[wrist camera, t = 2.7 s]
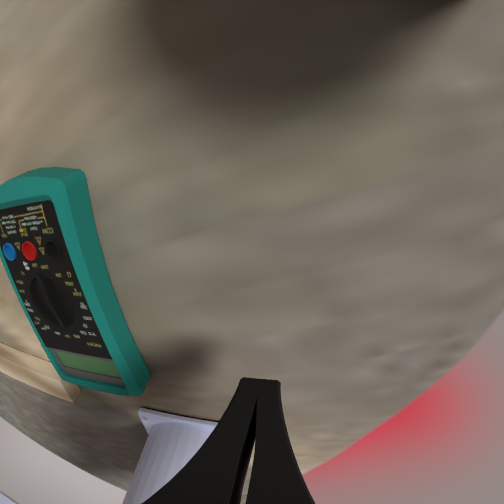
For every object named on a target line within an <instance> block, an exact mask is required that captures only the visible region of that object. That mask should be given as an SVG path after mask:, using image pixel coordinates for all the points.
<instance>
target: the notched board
mask: <svg viewBox="0 0 504 504" xmlns="http://www.w3.org/2000/svg"><path fill="white" fill-rule="evenodd" d="M0 371H1V372H3V373H5V374H7V375H9V376H11V377H13V378H15V379H17V380H19V381H21V382H24V383H26V384H28V385H30V386H32V387H35V388H37V389H39V390H42V391H44V392H46V393H49V394H51V395H54V396H56V397H59V398H61V399H64V400H67V401H69V402H72V403H74V402H75V400H76V399H77V397H78V395H79V394H80V392H81V390H80V388H79V387H78V385H75V384H72V383H69V382H66V381H64V380H63V379H61V377H60V376H59V375H58V373H57V371H56V370H55V368H54V366H53V365H52V363H51V362H48V361H45V360H42V359H40V358H37V357H34V356H31V355H29V354H26V353H24V352H21V351H19V350H16V349H14V348H11V347H9V346H6V345H4V344H2V343H0Z"/></svg>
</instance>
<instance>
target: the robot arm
mask: <svg viewBox="0 0 504 504" xmlns="http://www.w3.org/2000/svg"><path fill="white" fill-rule="evenodd" d="M280 384H281V383H280V382H279V381H278V380H267V379H256V378H245V377H243V378H242V379H240V382H239V385H238V387H237V390H236V392H235V394H234V396H233V398H232V400H231V402H230V404H229V406H228V407H227V409H226V411H225V412H224V414H223V416H222V417H221V419H220V421H219V422H212V421H206V420H199V419H194V418H188V417H183V416H177V415H172V414H167V413H163V412H158V411H154V410H149V409H145V408H139V410H138V415H139V417H140V419H141V421H142V423H143V425H144V427H145V429H146V431H147V433H148V438H147V441H146V443H145V446H144V448H143V451H142V453H141V456H140V459H139V461H138V464H137V467H136V469H135V472H134V474H133V477H132V480H131V482H130V485H129V488H128V490H127V493H126V496H125V498H124V501H123V504H240V501H241V495H242V489H243V485H244V480H245V477H246V473H247V469H248V465H249V461H250V458H251V454H252V450H253V446H254V442H255V453H254V461H253V466H252V472H251V478H250V483H249V489H248V494H247V499H246V504H315V502H314V500H313V498H312V497H311V495H310V493H309V491H308V488H307V486H306V484H305V482H304V479H303V477H302V474H301V472H300V469H299V467H298V464H297V461H296V459H295V456H294V453H293V449H292V446H291V443H290V440H289V436H288V432H287V428H286V424H285V420H284V415H283V409H282V402H281V391H280ZM0 504H18V503H17V502H15V501H14V500H13V499H11V498H10V497H8V496H7V495H6V494H4V493H3V492H1V491H0Z"/></svg>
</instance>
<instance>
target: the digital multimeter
mask: <svg viewBox="0 0 504 504" xmlns="http://www.w3.org/2000/svg"><path fill="white" fill-rule="evenodd" d="M0 257H1V260H2V262H3V265H4V267H5V270H6V272H7V274H8V277H9V279H10V281H11V284H12V286H13V288H14V290H15V293H16V295H17V297H18V299H19V301H20V303H21V306H22V308H23V310H24V312H25V314H26V316H27V318H28V320H29V322H30V324H31V326H32V328H33V330H34V332H35V334H36V336H37V337H38V339H39V341H40V343H41V345H42V347H43V349H44V350H45V352H46V354H47V356H48V358H49V359H50V361H51V363H52V365H53V366H54V368H55V370H56V371H57V373H58V375H59V376H60V377H61V379H63V380H64V381H66V382H69V383H72V384H75V385H79V386H82V387H85V388H89V389H93V390H98V391H102V392H107V393H113V394H119V395H126V396H140V395H141V394H142V393H143V390H144V388H145V386H146V384H147V382H148V380H149V378H150V373H149V371H148V369H147V367H146V364H145V362H144V360H143V358H142V356H141V354H140V352H139V350H138V348H137V346H136V344H135V341H134V339H133V337H132V335H131V333H130V331H129V328H128V326H127V323H126V321H125V318H124V316H123V313H122V310H121V308H120V305H119V302H118V300H117V297H116V294H115V292H114V289H113V286H112V283H111V280H110V277H109V274H108V270H107V267H106V263H105V260H104V256H103V253H102V249H101V245H100V242H99V238H98V234H97V231H96V227H95V222H94V218H93V213H92V208H91V203H90V197H89V192H88V186H87V181H86V177H85V174H84V173H83V172H82V171H81V170H79V169H69V168H59V167H54V168H39V169H36V170H32V171H29V172H26V173H24V174H22V175H19V176H17V177H15V178H13V179H11V180H8V181H6V182H5V183H3V184H2V185H0ZM76 324H77V325H76ZM59 328H60V329H59ZM63 329H64V330H63Z"/></svg>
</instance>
